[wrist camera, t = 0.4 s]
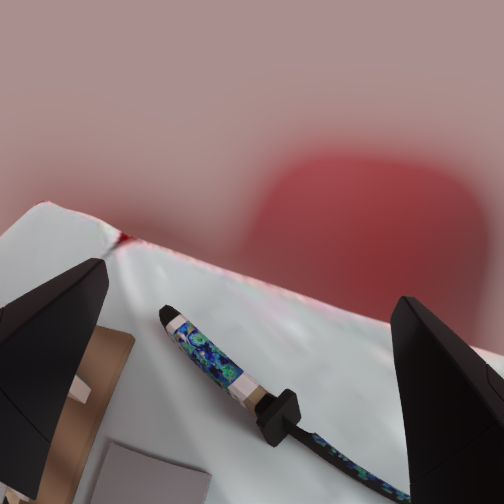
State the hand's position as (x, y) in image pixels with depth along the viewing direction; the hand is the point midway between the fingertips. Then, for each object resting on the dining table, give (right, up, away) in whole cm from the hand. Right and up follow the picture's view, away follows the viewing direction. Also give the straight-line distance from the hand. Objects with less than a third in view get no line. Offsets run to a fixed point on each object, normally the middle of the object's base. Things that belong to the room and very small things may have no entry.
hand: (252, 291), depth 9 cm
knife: (+5, -13, +10) cm, 17 cm away
